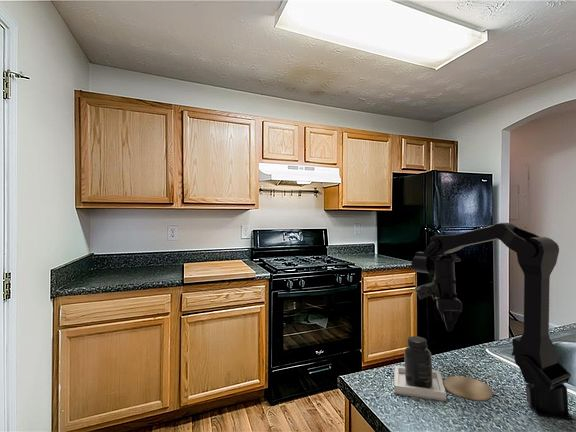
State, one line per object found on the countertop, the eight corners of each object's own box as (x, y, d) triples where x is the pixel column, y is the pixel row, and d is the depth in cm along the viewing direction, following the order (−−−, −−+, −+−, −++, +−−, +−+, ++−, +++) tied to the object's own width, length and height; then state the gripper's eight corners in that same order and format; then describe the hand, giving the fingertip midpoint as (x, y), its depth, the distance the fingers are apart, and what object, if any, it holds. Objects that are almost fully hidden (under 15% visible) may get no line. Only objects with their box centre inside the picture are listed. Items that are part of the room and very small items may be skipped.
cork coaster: (485, 381, 83) (485, 379, 83) (498, 403, 73) (498, 401, 73) (441, 376, 87) (441, 374, 87) (447, 396, 77) (446, 393, 77)
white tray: (439, 378, 86) (439, 371, 86) (446, 401, 74) (445, 392, 75) (395, 372, 90) (394, 365, 90) (394, 393, 79) (394, 385, 79)
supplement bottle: (400, 380, 84) (398, 336, 85) (420, 376, 86) (418, 333, 87) (417, 392, 78) (415, 345, 78) (439, 388, 80) (436, 341, 80)
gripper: (414, 270, 106) (416, 316, 105) (418, 279, 88) (420, 334, 87) (450, 271, 102) (453, 318, 101) (461, 280, 84) (464, 337, 84)
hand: (446, 326), depth 93 cm, fingers open, 9 cm apart
